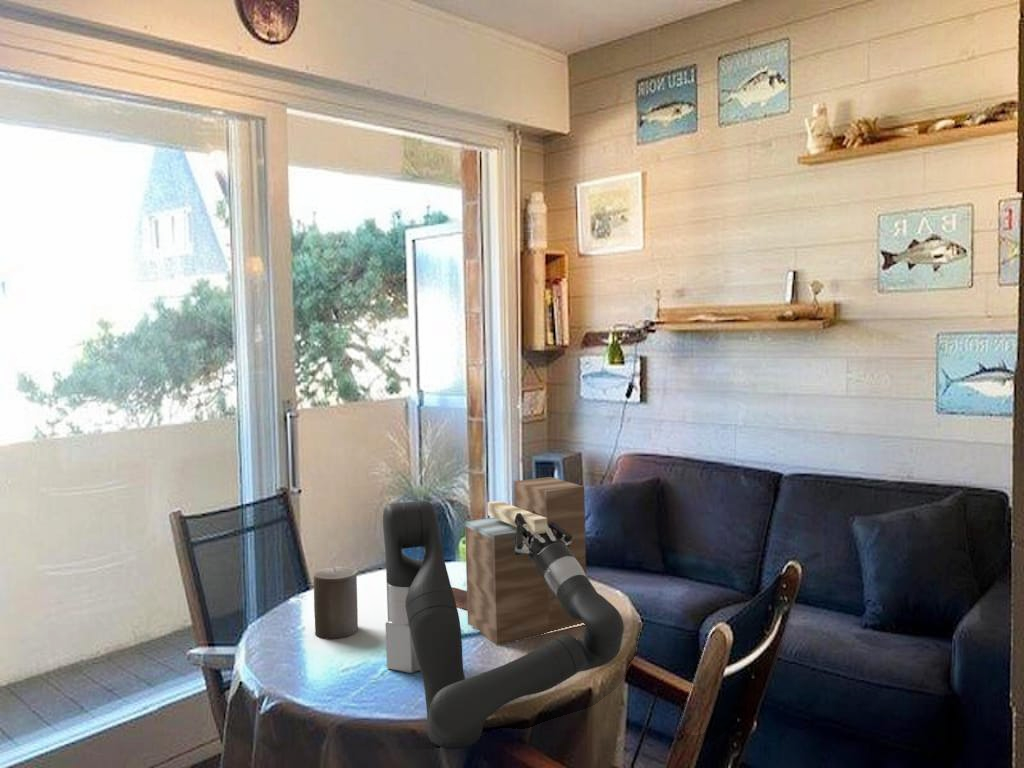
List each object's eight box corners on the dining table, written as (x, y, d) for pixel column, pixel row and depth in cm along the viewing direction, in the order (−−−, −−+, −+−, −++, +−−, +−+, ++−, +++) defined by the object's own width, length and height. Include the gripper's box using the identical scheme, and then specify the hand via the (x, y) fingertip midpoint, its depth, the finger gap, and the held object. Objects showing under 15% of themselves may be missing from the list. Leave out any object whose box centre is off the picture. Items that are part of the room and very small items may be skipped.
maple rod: (547, 532, 168) (547, 518, 168) (534, 534, 167) (534, 520, 167) (499, 513, 188) (499, 500, 188) (487, 515, 186) (487, 502, 186)
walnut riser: (586, 625, 185) (584, 486, 183) (496, 645, 174) (493, 498, 172) (553, 606, 198) (550, 476, 196) (467, 623, 187) (464, 487, 185)
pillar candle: (315, 641, 179) (313, 574, 178) (314, 626, 188) (312, 562, 187) (360, 636, 181) (358, 571, 180) (356, 621, 191) (355, 559, 190)
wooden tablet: (404, 586, 213) (434, 573, 220) (405, 594, 214) (435, 581, 221) (472, 610, 195) (501, 595, 201) (473, 619, 195) (502, 603, 202)
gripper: (526, 591, 160) (491, 532, 172) (586, 579, 166) (548, 524, 179) (535, 563, 156) (499, 505, 169) (596, 552, 162) (556, 497, 175)
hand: (524, 515), depth 174 cm, fingers closed on maple rod, 3 cm apart
